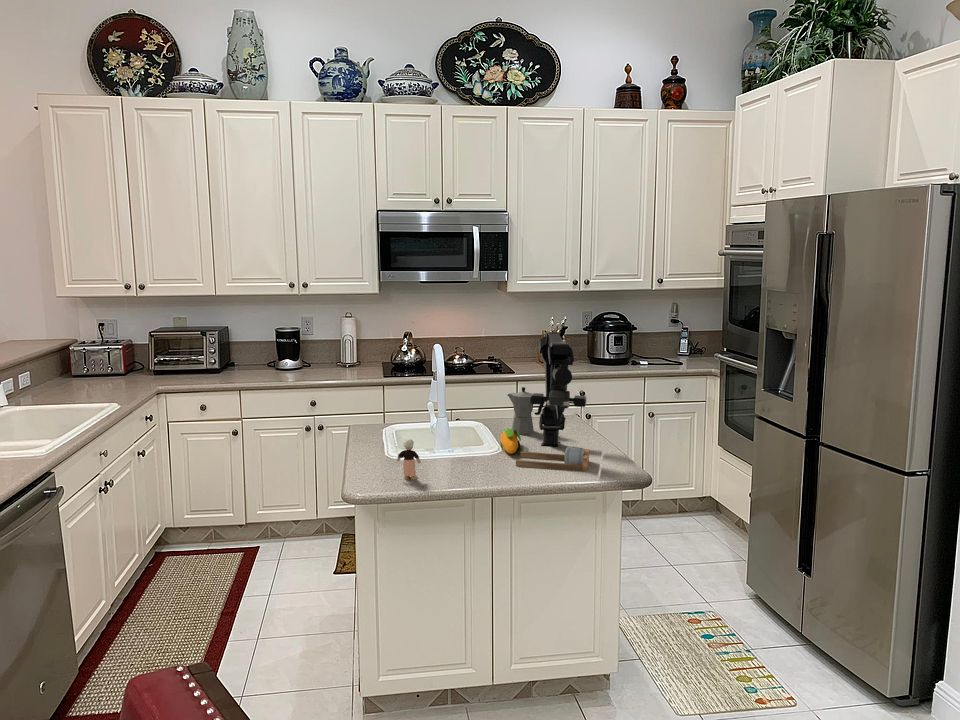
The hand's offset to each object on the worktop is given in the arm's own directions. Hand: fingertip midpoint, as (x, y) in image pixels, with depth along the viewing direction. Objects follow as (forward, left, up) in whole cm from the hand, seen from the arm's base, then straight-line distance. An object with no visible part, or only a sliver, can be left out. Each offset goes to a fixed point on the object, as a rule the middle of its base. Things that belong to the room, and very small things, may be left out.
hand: (557, 424), depth 246 cm
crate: (+9, +7, -11) cm, 16 cm away
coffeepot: (-32, -16, -12) cm, 38 cm away
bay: (+9, -1, -12) cm, 15 cm away
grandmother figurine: (+33, -43, -12) cm, 56 cm away
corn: (-4, -17, -12) cm, 21 cm away
